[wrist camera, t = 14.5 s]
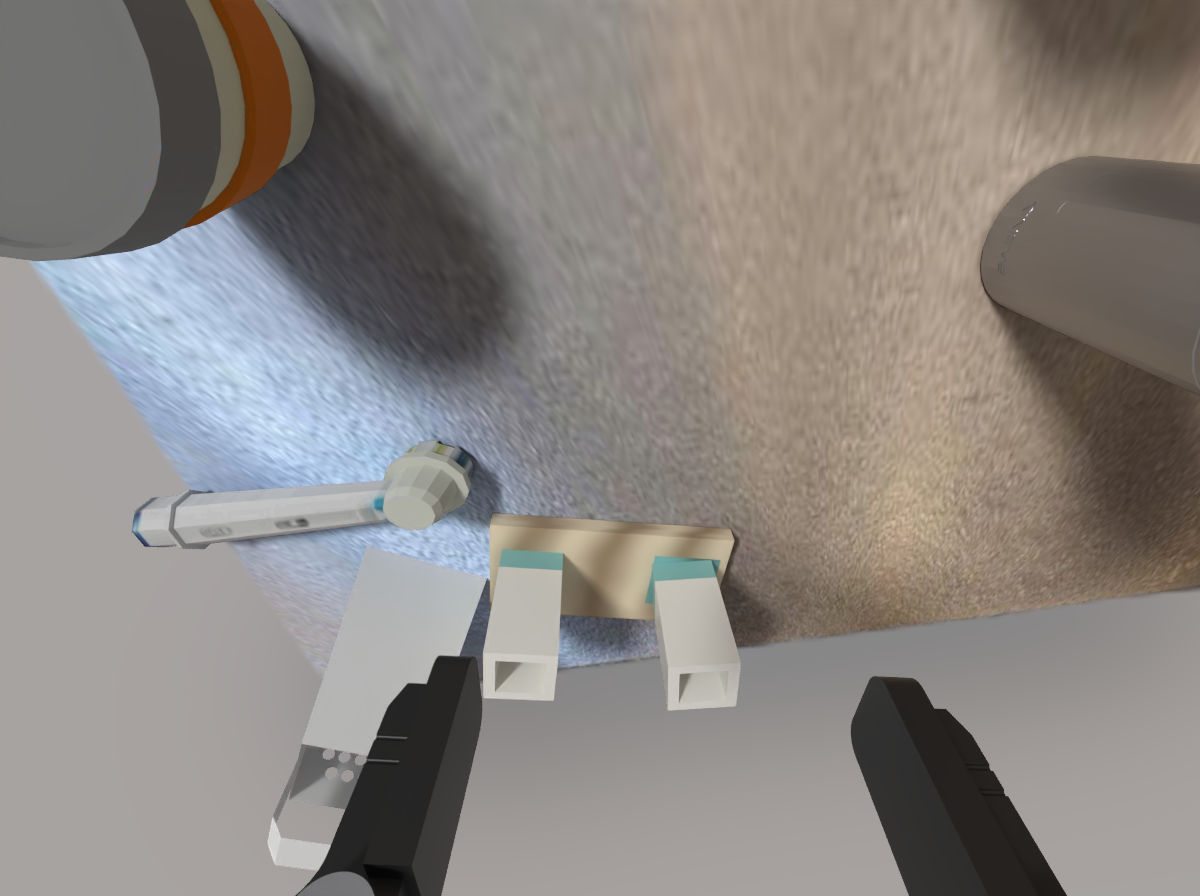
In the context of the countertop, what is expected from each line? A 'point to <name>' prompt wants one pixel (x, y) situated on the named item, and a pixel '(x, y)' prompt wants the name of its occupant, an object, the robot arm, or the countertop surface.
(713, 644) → the sleeve
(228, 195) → the reusable coffee cup
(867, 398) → the countertop surface
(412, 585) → the grater
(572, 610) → the pin board
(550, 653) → the seated sleeve
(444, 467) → the electric toothbrush
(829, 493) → the countertop surface
